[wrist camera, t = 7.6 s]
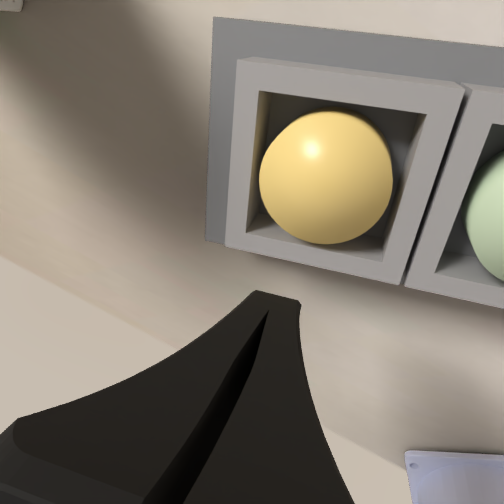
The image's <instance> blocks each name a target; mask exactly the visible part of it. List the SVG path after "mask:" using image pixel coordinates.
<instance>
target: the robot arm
mask: <svg viewBox="0 0 504 504" xmlns="http://www.w3.org/2000/svg"><path fill="white" fill-rule="evenodd" d="M300 309H301V304H300V302H299V301H298V300H294V299H290V298H286V297H282V296H278V295H274V294H270V293H266V292H262V291H258V290H255V291H253V292H252V293H251V294H250V295H249V296H248V297H247V298H246V299H245V300H243V301H242V302H241V303H240V304H239V305H238V306H237V307H236V308H235V309H233V310H232V311H231V312H230V313H229V314H228V315H226V316H225V317H224V318H223V319H222V320H220V321H219V322H218V323H217V324H215V325H214V326H213V327H212V328H210V329H209V330H208V331H206V332H205V333H203V334H202V335H201V336H199V337H198V338H196V339H195V340H194V341H192V342H191V343H189V344H188V345H186V346H185V347H183V348H182V349H180V350H179V351H177V352H176V353H174V354H172V355H171V356H169V357H167V358H166V359H164V360H162V361H160V362H159V363H157V364H155V365H153V366H151V367H149V368H148V369H146V370H144V371H142V372H140V373H138V374H136V375H134V376H132V377H130V378H128V379H126V380H124V381H121V382H120V383H117V384H115V385H112V386H110V387H107V388H105V389H103V390H100V391H98V392H95V393H93V394H90V395H88V396H85V397H82V398H80V399H77V400H74V401H71V402H69V403H66V404H62V405H59V406H56V407H53V408H50V409H47V410H44V411H41V412H37V413H34V414H31V415H28V416H24V417H21V418H18V419H17V420H16V421H14V422H13V423H12V424H11V425H10V426H9V427H8V428H7V429H6V430H5V431H4V432H2V434H0V504H355V503H354V501H353V499H352V497H351V495H350V493H349V491H348V489H347V487H346V485H345V483H344V481H343V479H342V477H341V474H340V472H339V470H338V467H337V465H336V462H335V460H334V458H333V455H332V453H331V451H330V448H329V446H328V443H327V441H326V438H325V436H324V433H323V430H322V427H321V425H320V422H319V419H318V416H317V413H316V410H315V406H314V403H313V400H312V396H311V393H310V389H309V385H308V381H307V376H306V372H305V367H304V362H303V356H302V349H301V341H300V328H299V316H300ZM404 456H405V464H406V469H407V475H408V480H409V486H410V491H411V497H412V502H413V504H504V455H493V454H474V453H456V452H437V451H418V450H409V451H406V452H405V455H404Z"/></svg>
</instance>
